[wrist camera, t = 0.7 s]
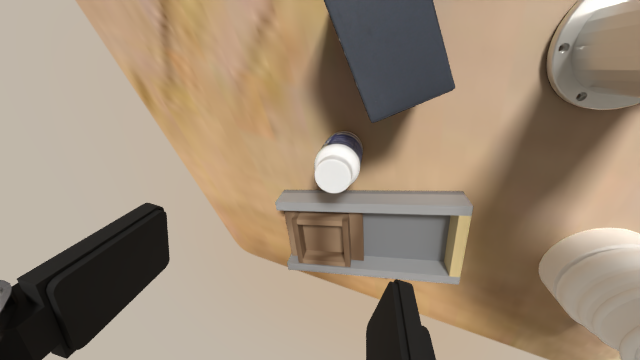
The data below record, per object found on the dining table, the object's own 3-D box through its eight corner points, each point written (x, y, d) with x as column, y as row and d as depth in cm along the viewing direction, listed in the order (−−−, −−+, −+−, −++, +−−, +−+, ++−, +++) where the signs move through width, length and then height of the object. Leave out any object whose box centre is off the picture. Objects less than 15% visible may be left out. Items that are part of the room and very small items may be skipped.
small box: (330, -6, 27) (300, -55, 16) (390, -46, 24) (402, -135, 14) (372, 105, 31) (371, 125, 20) (428, 81, 28) (460, 88, 18)
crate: (362, 204, 36) (361, 218, 32) (364, 254, 39) (363, 271, 36) (286, 203, 38) (278, 215, 35) (294, 249, 42) (288, 264, 39)
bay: (462, 191, 33) (473, 206, 29) (451, 264, 38) (458, 284, 34) (284, 189, 39) (275, 202, 35) (295, 253, 44) (288, 269, 40)
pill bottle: (329, 126, 33) (312, 146, 24) (367, 135, 32) (364, 159, 24) (322, 162, 35) (304, 192, 27) (357, 170, 35) (351, 204, 26)
